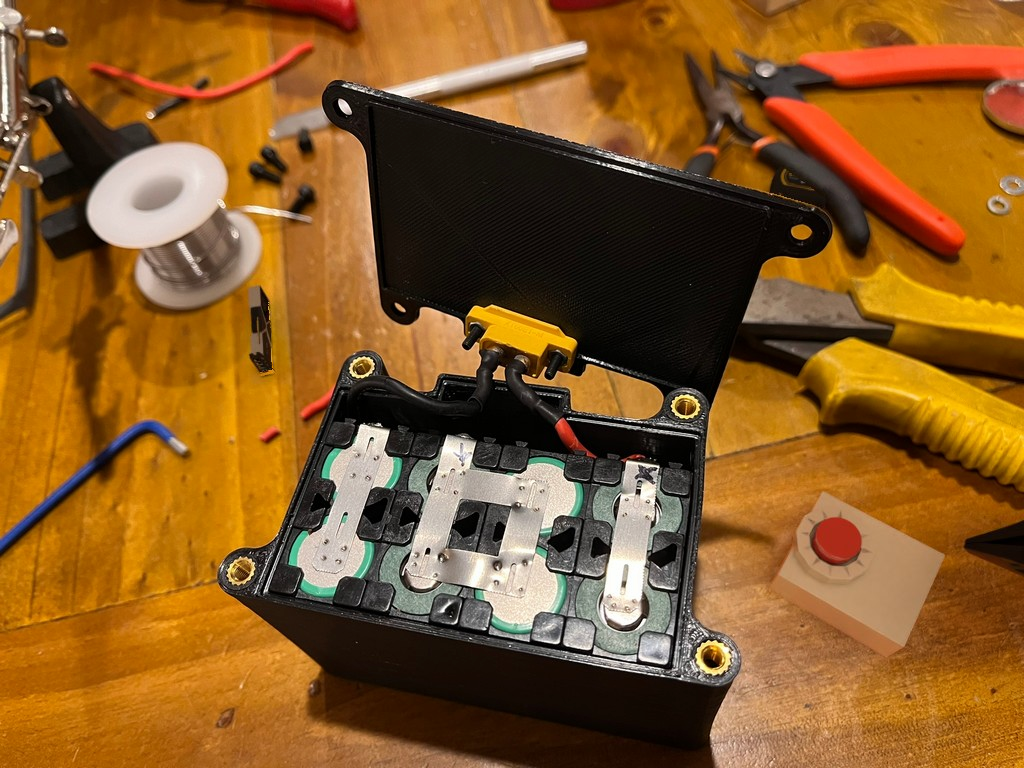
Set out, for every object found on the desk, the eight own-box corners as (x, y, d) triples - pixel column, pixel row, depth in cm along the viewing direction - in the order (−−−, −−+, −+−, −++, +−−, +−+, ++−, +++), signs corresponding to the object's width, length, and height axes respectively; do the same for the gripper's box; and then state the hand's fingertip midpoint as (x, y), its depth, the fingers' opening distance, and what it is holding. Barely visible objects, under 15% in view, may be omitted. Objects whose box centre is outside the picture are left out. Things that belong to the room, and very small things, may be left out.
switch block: (925, 570, 77) (953, 549, 71) (886, 657, 73) (911, 643, 67) (806, 506, 81) (822, 481, 75) (763, 586, 78) (777, 566, 72)
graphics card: (275, 375, 97) (271, 354, 93) (253, 377, 97) (248, 355, 93) (270, 302, 103) (266, 278, 99) (250, 303, 102) (245, 279, 98)
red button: (863, 537, 73) (869, 531, 71) (846, 572, 71) (851, 567, 70) (822, 515, 74) (827, 509, 73) (804, 549, 73) (809, 543, 71)
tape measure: (765, 216, 101) (770, 196, 98) (769, 177, 104) (775, 156, 101) (820, 221, 99) (827, 201, 96) (823, 182, 103) (830, 161, 99)
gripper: (1172, 377, 53) (940, 401, 65) (1151, 636, 45) (893, 605, 58) (1227, 463, 57) (1000, 470, 70) (1216, 711, 50) (963, 668, 62)
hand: (966, 546), depth 65 cm, fingers closed
